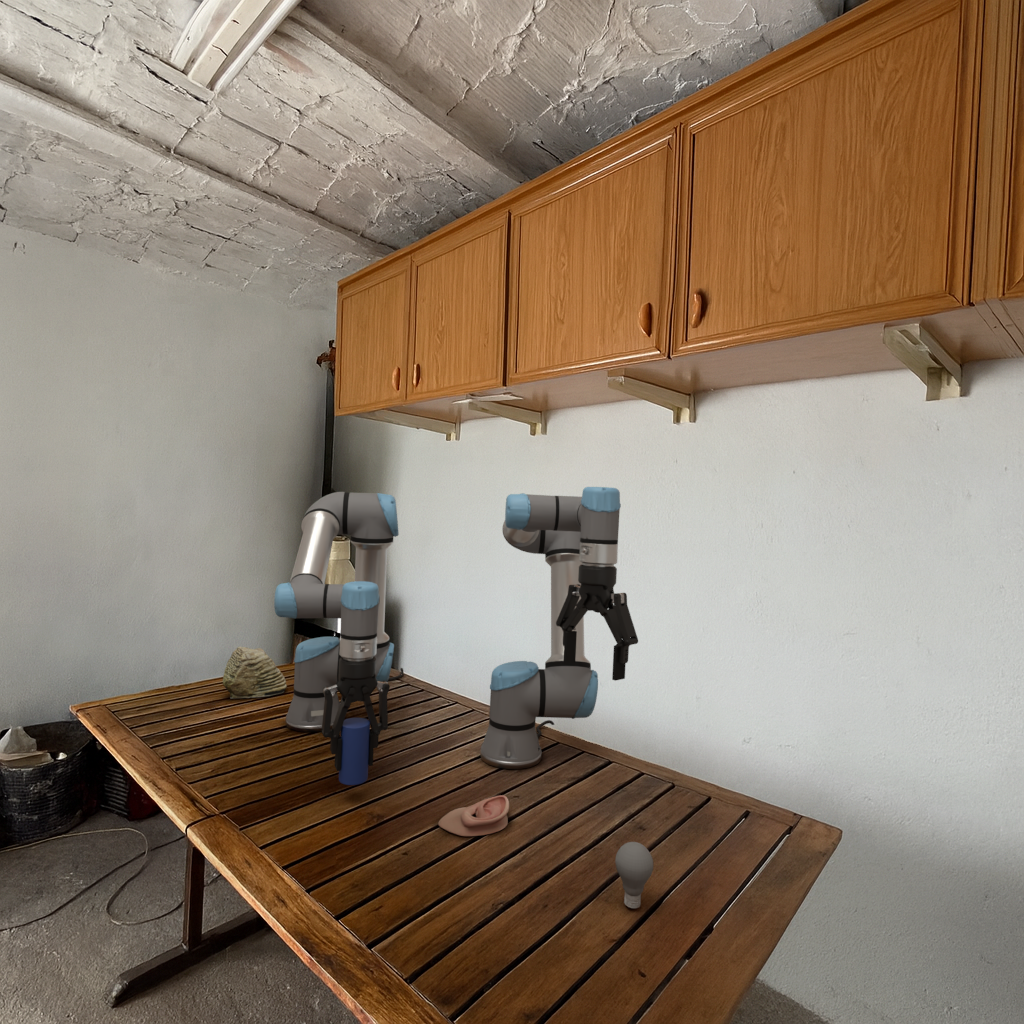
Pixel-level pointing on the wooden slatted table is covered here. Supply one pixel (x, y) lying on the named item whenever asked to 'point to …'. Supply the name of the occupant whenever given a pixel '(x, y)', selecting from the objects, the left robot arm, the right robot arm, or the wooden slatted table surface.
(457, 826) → the anatomical model
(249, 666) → the fossil
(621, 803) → the wooden slatted table surface
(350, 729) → the canister
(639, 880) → the light bulb
